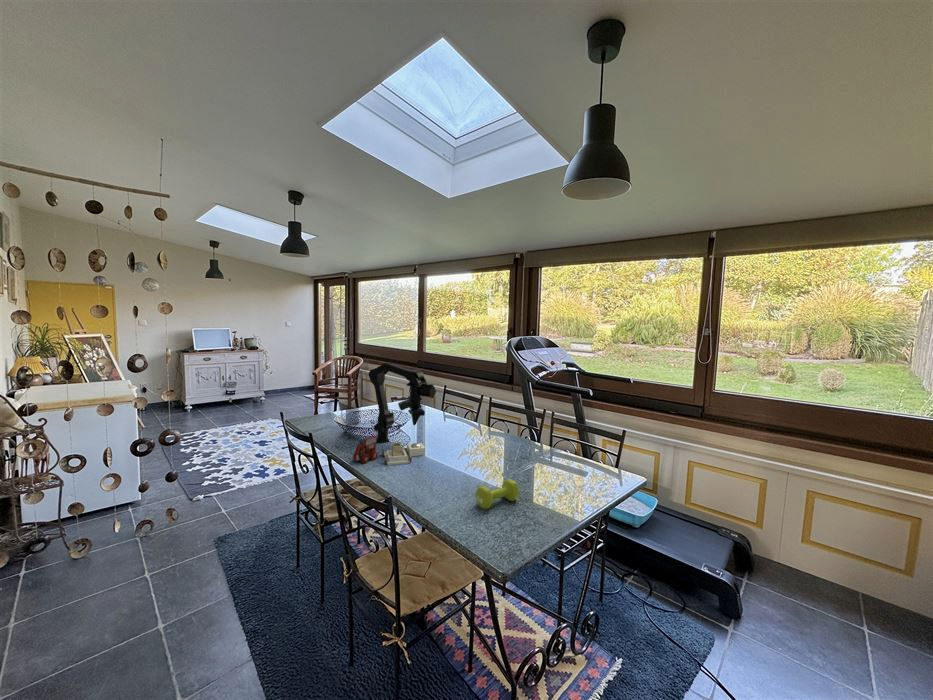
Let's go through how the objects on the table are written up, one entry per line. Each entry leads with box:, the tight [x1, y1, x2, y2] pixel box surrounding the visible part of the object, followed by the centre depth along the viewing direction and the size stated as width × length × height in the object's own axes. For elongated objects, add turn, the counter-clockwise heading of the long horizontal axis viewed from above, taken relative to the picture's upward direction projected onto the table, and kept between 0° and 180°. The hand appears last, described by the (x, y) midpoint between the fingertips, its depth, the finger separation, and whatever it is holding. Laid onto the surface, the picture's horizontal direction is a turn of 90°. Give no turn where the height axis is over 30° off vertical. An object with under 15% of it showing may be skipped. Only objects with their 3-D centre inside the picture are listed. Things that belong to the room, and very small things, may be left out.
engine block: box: [391, 441, 403, 456], centre depth 167 cm, size 4×4×7 cm
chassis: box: [381, 447, 413, 466], centre depth 168 cm, size 14×12×3 cm
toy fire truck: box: [352, 435, 379, 464], centre depth 164 cm, size 7×12×10 cm, turn 147°
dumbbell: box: [474, 478, 520, 510], centre depth 131 cm, size 16×8×7 cm, turn 123°
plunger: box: [411, 442, 420, 448], centre depth 176 cm, size 4×4×4 cm
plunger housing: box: [406, 442, 426, 457], centre depth 176 cm, size 7×7×4 cm
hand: (414, 424), depth 183 cm, fingers closed
